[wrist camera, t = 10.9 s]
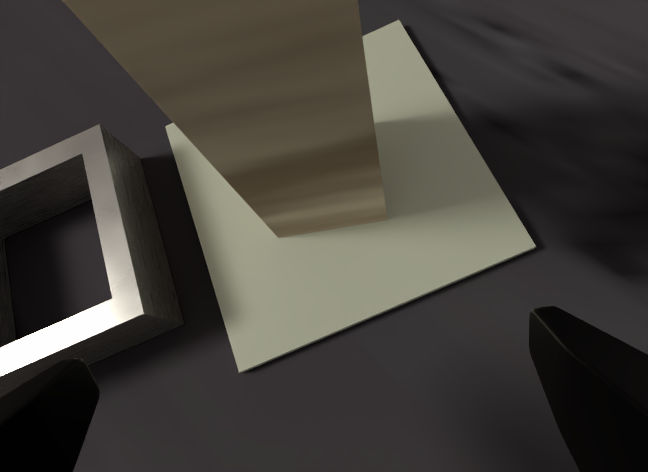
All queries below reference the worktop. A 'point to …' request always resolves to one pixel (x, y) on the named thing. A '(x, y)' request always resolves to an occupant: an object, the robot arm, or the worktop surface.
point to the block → (260, 98)
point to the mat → (359, 240)
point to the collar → (117, 244)
